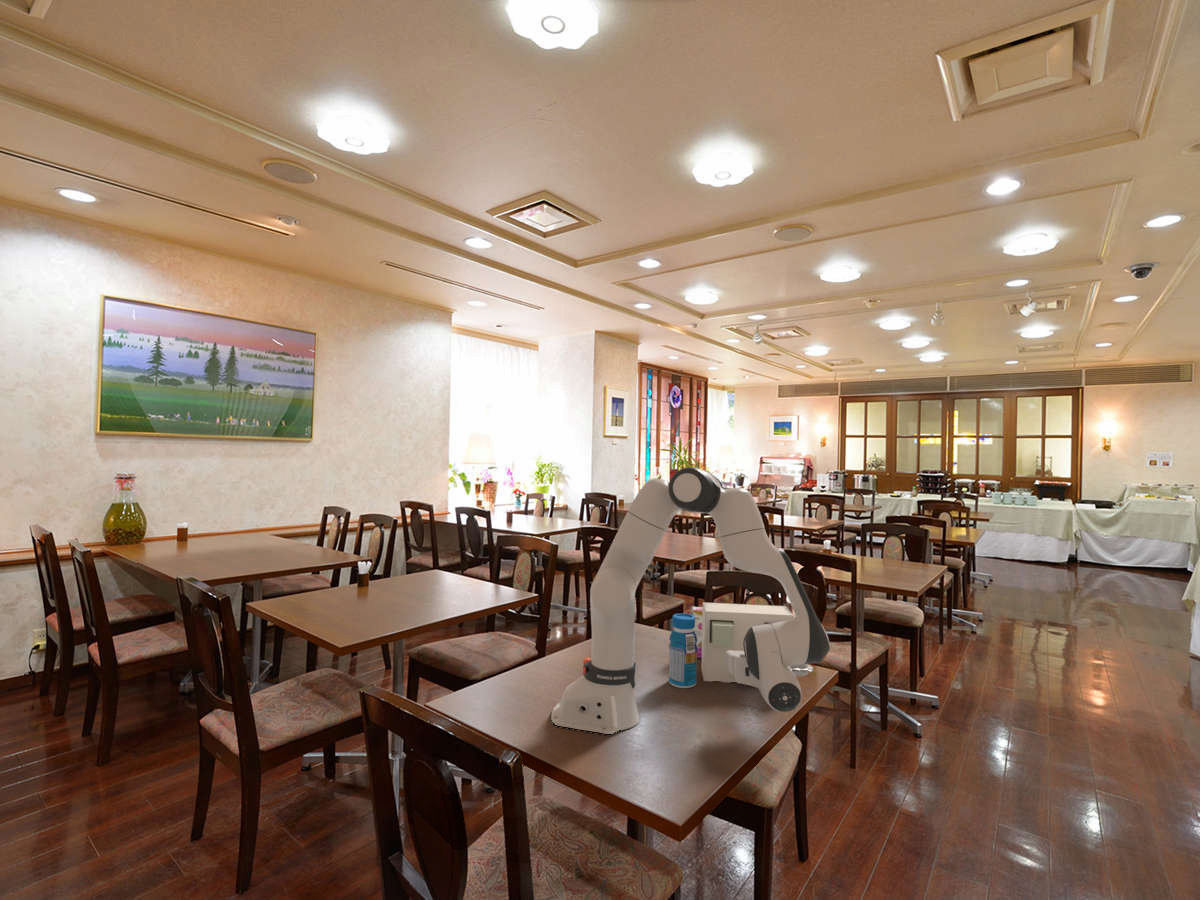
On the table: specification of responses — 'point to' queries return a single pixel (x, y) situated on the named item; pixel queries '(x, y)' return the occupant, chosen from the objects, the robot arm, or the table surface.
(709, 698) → the table surface
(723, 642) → the sage-green button
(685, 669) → the beverage bottle
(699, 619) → the candy bar box
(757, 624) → the button panel
